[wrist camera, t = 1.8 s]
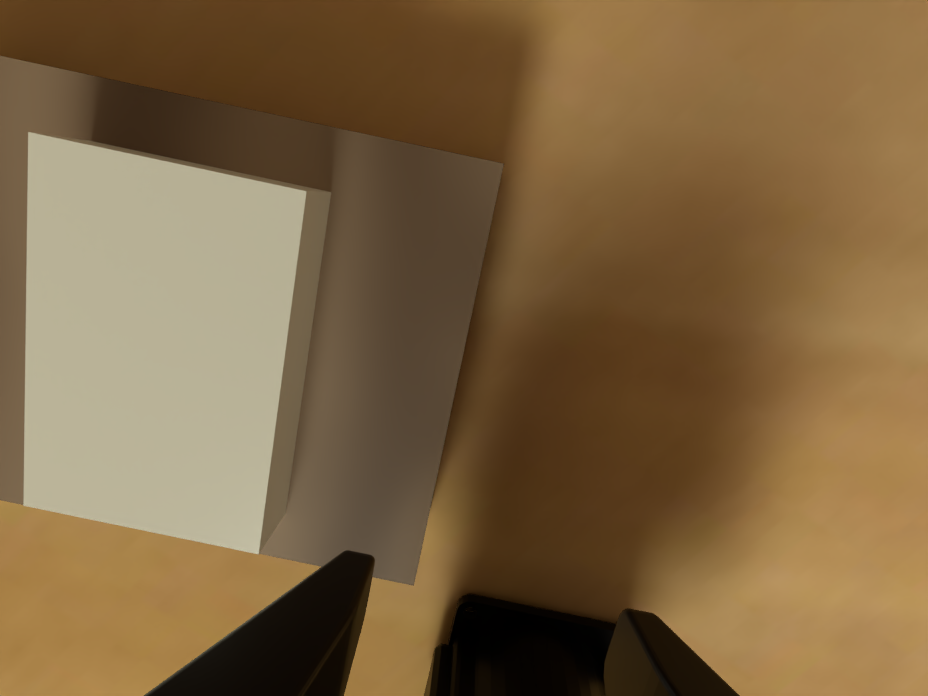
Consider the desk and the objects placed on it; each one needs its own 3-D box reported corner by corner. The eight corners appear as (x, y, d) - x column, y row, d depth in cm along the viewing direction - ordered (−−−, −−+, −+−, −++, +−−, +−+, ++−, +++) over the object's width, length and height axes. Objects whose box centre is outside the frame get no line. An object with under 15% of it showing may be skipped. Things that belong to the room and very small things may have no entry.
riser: (500, 171, 18) (504, 164, 14) (427, 513, 21) (413, 585, 17) (-14, 60, 18) (-156, 22, 14) (-13, 422, 21) (-129, 473, 17)
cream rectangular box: (331, 192, 14) (306, 191, 12) (285, 512, 17) (258, 553, 15) (90, 140, 14) (28, 131, 12) (78, 469, 17) (23, 505, 15)
